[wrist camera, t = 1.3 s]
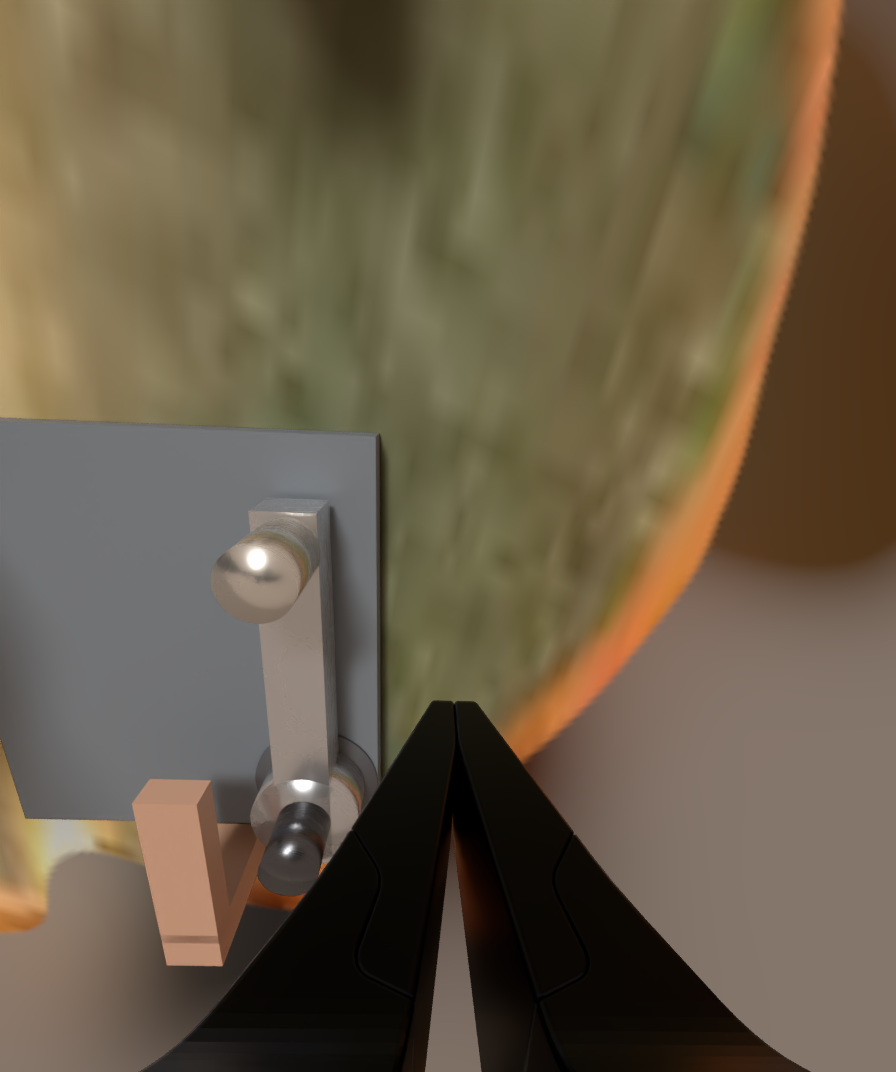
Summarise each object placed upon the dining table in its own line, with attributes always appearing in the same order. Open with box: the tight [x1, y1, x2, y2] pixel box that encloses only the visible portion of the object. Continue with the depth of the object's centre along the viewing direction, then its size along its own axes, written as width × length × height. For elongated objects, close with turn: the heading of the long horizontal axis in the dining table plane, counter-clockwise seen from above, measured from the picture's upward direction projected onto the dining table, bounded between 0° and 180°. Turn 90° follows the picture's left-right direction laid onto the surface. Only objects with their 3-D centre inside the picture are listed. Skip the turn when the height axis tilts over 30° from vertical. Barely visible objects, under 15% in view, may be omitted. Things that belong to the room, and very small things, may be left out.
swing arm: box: [211, 498, 364, 896], centre depth 19 cm, size 17×5×5 cm, turn 178°
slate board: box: [0, 418, 381, 823], centre depth 22 cm, size 18×20×1 cm
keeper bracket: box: [132, 779, 265, 966], centre depth 23 cm, size 2×10×6 cm, turn 178°
